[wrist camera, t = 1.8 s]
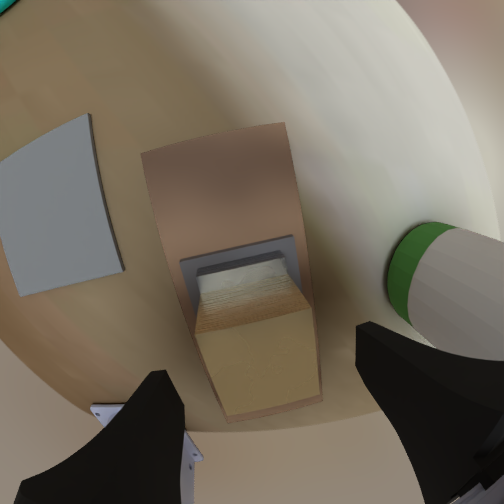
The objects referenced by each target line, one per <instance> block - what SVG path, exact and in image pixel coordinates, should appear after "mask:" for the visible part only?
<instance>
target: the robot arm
mask: <svg viewBox="0 0 504 504" xmlns="http://www.w3.org/2000/svg"><path fill="white" fill-rule="evenodd" d="M355 366H356V368H357V370H358V372H359V374H360V376H361V378H362V380H363V382H364V384H365V386H366V387H367V389H368V390H369V392H370V393H371V395H372V396H373V398H374V399H375V401H376V402H377V403H378V405H379V406H380V408H381V409H382V411H383V412H384V413H385V415H386V416H387V418H388V419H389V421H390V422H391V424H392V425H393V427H394V429H395V430H396V432H397V434H398V436H399V438H400V440H401V442H402V444H403V446H404V448H405V450H406V453H407V455H408V457H409V459H410V462H411V464H412V466H413V469H414V471H415V474H416V477H417V480H418V482H419V485H420V488H421V491H422V495H423V498H424V502H425V504H450V503H451V502H453V501H454V500H456V499H457V498H458V497H460V498H459V499H458V500H456V501H455V502H454V503H452V504H504V361H497V360H485V359H477V358H470V357H465V356H461V355H456V354H452V353H448V352H445V351H441V350H438V349H435V348H433V347H430V346H427V345H424V344H422V343H419V342H417V341H414V340H412V339H409V338H407V337H405V336H402V335H400V334H398V333H396V332H394V331H391V330H389V329H387V328H385V327H383V326H380V325H378V324H376V323H374V322H371V321H369V322H366V323H363V324H360V325H357V326H356V362H355ZM90 409H91V411H92V412H93V414H94V415H95V416H96V418H97V419H98V420H99V421H100V423H101V424H102V425H103V426H104V428H103V429H102V431H100V432H99V433H98V434H97V435H96V436H95V437H94V438H93V439H92V440H91V441H90V442H88V443H87V444H86V445H85V446H84V447H82V448H81V449H80V450H78V451H77V452H75V453H74V454H73V455H71V456H70V457H69V458H67V459H66V460H64V461H63V462H61V463H59V464H58V465H56V466H54V467H52V468H50V469H49V470H47V471H45V472H42V473H40V474H38V475H35V476H33V477H30V478H28V479H25V480H23V481H22V482H21V484H20V487H19V490H18V492H17V495H16V498H15V501H14V504H194V462H197V461H202V460H203V455H202V454H201V453H200V451H199V450H198V448H197V447H196V445H195V444H194V443H193V441H192V439H191V438H190V436H189V435H188V433H187V432H186V430H185V412H184V404H183V402H182V400H181V398H180V397H179V395H178V393H177V391H176V389H175V387H174V385H173V383H172V381H171V379H170V377H169V375H168V373H167V371H166V370H159V371H151V372H150V373H149V375H148V376H147V377H146V378H145V379H144V381H143V382H142V383H141V385H140V386H139V387H138V388H137V390H136V391H135V392H134V393H133V395H132V396H131V397H130V398H129V400H128V401H127V402H126V403H125V404H115V405H91V407H90Z"/></svg>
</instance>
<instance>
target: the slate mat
mask: <svg viewBox="0 0 504 504" xmlns="http://www.w3.org/2000/svg"><path fill="white" fill-rule="evenodd" d="M0 236H1V240H2V244H3V248H4V251H5V254H6V258H7V261H8V264H9V267H10V270H11V273H12V276H13V279H14V282H15V284H16V287H17V290H18V292H19V295H20V297H22V296H26V295H30V294H34V293H38V292H42V291H46V290H50V289H54V288H58V287H62V286H66V285H70V284H74V283H78V282H82V281H87V280H91V279H95V278H99V277H103V276H107V275H112V274H116V273H120V272H123V271H124V270H125V268H124V265H123V262H122V259H121V256H120V253H119V249H118V246H117V243H116V239H115V236H114V232H113V229H112V225H111V221H110V217H109V213H108V209H107V205H106V201H105V197H104V192H103V188H102V183H101V178H100V173H99V168H98V163H97V157H96V151H95V145H94V139H93V132H92V124H91V116H90V114H89V113H87V114H84V115H82V116H80V117H78V118H76V119H74V120H71V121H69V122H67V123H65V124H63V125H61V126H59V127H57V128H56V129H54V130H52V131H50V132H48V133H46V134H44V135H43V136H41V137H39V138H37V139H36V140H34V141H32V142H31V143H29V144H27V145H26V146H24V147H22V148H21V149H19V150H18V151H16V152H15V153H13V154H12V155H10V156H9V157H7V158H6V159H4V160H3V161H1V162H0Z"/></svg>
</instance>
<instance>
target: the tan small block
mask: <svg viewBox="0 0 504 504" xmlns="http://www.w3.org/2000/svg"><path fill="white" fill-rule="evenodd" d="M196 280H197V284H198V287H199V291H200V300H199V307H198V314H197V321H196V328H195V337H196V340H197V343H198V345H199V348H200V351H201V353H202V356H203V359H204V361H205V364H206V366H207V369H208V371H209V374H210V376H211V379H212V381H213V384H214V386H215V389H216V391H217V394H218V396H219V398H220V401H221V403H222V405H223V408H224V410H225V412H226V414H227V416H230V415H236V414H241V413H247V412H252V411H257V410H261V409H266V408H270V407H275V406H279V405H283V404H287V403H291V402H295V401H298V400H302V399H305V398H309V397H312V396H316V395H319V394H320V391H319V377H318V365H317V354H316V343H315V334H314V324H313V315H312V308H311V306H310V305H309V303H308V302H307V300H306V299H305V297H304V296H303V294H302V293H301V292H300V290H299V289H298V287H297V286H296V284H295V283H294V281H293V280H292V279H291V277H290V276H289V274H288V270H287V264H286V258H285V256H284V255H283V253H282V252H281V251H280V250H277V251H272V252H268V253H264V254H259V255H255V256H250V257H246V258H242V259H237V260H233V261H228V262H224V263H219V264H215V265H210V266H206V267H202V268H198V269H197V273H196Z"/></svg>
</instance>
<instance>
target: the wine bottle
mask: <svg viewBox="0 0 504 504" xmlns="http://www.w3.org/2000/svg"><path fill="white" fill-rule="evenodd" d="M387 289H388V294H389V299H390V302H391V303H392V305H393V307H394V309H395V311H396V312H397V313H398V315H400V316H401V317H402V318H403V319H404V320H405V321H407V322H408V323H409V324H410V325H411V326H412V327H413V328H414V329H415V330H416V331H418V332H419V333H420V334H421V335H422V336H423V337H424V338H426V339H427V340H428V341H429V342H430V343H431V344H432V345H433V346H435V347H436V348H437V349H438V350H441V351H445V352H448V353H452V354H456V355H461V356H465V357H470V358H477V359H485V360H497V361H504V243H503V242H501V241H498V240H496V239H493V238H490V237H487V236H484V235H481V234H478V233H475V232H472V231H469V230H465V229H461V228H458V227H455V226H451V225H448V224H444V223H439V222H431V223H426V224H422V225H420V226H418V227H417V228H415V229H413V230H412V231H411V232H410V233H409V234H408V235H407V236H406V237H405V238H404V239H403V240H402V241H401V243H400V244H399V246H398V247H397V249H396V251H395V253H394V256H393V258H392V260H391V263H390V267H389V272H388V282H387Z"/></svg>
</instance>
